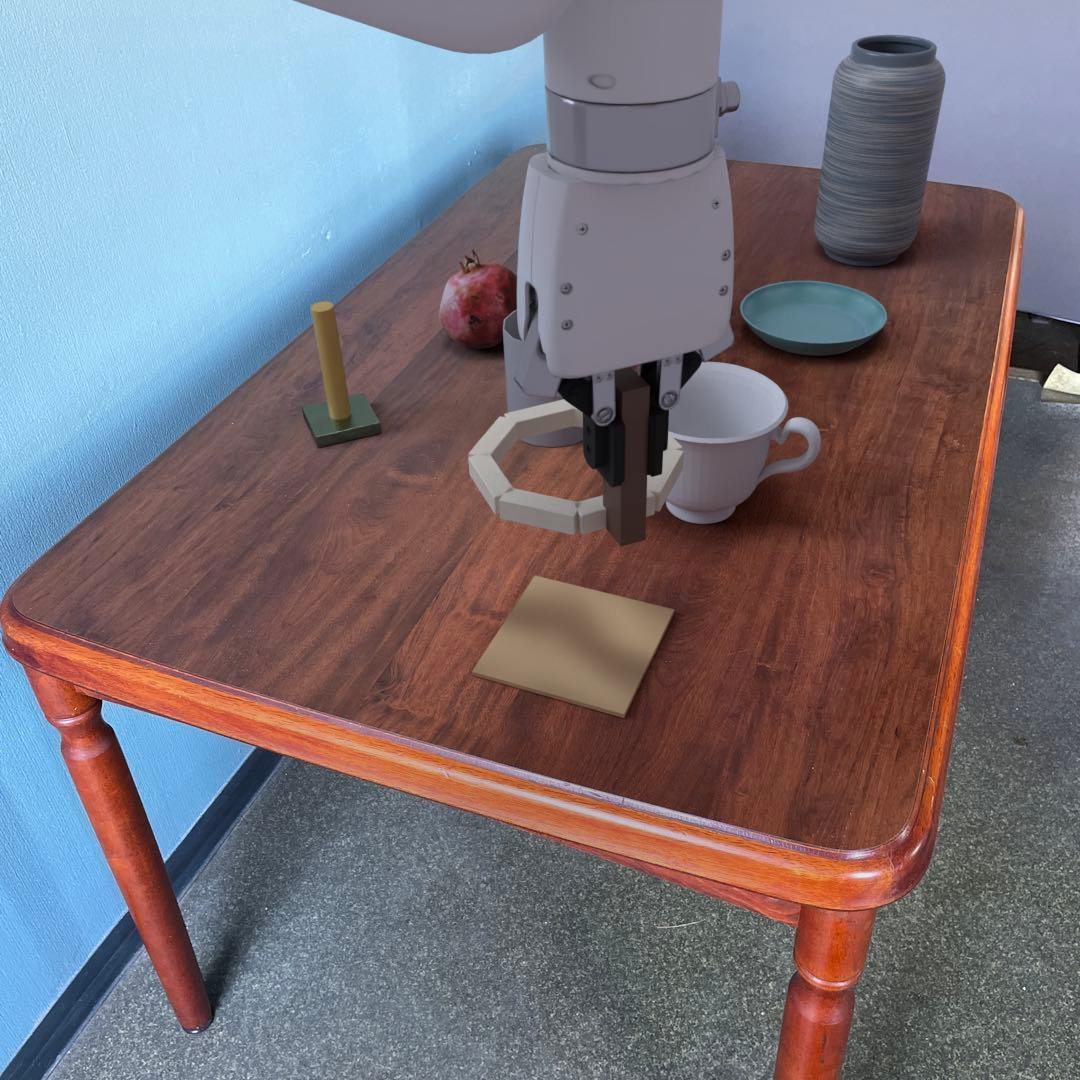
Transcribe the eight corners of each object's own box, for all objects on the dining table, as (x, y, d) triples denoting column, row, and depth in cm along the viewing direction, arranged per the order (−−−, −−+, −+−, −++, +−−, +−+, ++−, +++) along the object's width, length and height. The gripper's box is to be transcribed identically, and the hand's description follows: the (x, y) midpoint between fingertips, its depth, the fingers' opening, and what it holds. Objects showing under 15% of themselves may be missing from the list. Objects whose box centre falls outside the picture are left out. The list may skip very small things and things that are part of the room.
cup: (497, 441, 97) (491, 341, 91) (520, 396, 103) (515, 299, 97) (589, 451, 95) (588, 349, 89) (606, 404, 101) (607, 306, 95)
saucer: (914, 344, 109) (919, 320, 107) (797, 381, 104) (800, 356, 102) (820, 291, 119) (824, 268, 118) (710, 321, 114) (711, 298, 113)
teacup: (784, 575, 81) (800, 464, 75) (603, 525, 86) (604, 419, 80) (827, 491, 89) (844, 385, 83) (659, 451, 95) (664, 349, 89)
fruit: (548, 332, 114) (545, 242, 107) (496, 370, 107) (490, 276, 101) (478, 313, 118) (472, 225, 112) (424, 349, 112) (414, 257, 105)
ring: (449, 445, 70) (434, 302, 64) (622, 402, 73) (624, 263, 67) (531, 572, 59) (523, 416, 53) (729, 515, 63) (742, 363, 56)
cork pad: (624, 718, 70) (624, 714, 70) (472, 675, 74) (471, 671, 73) (674, 613, 78) (674, 609, 78) (534, 579, 81) (534, 575, 81)
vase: (792, 255, 127) (817, 47, 113) (842, 225, 134) (871, 26, 120) (882, 280, 121) (919, 64, 107) (929, 248, 128) (971, 40, 114)
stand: (317, 448, 97) (294, 327, 90) (303, 416, 101) (280, 299, 94) (382, 433, 99) (364, 313, 91) (365, 403, 103) (347, 286, 96)
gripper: (740, 79, 53) (716, 405, 64) (436, 128, 48) (467, 468, 60) (829, 120, 47) (785, 469, 58) (493, 179, 43) (516, 543, 54)
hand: (625, 466), depth 59 cm, fingers closed on ring
